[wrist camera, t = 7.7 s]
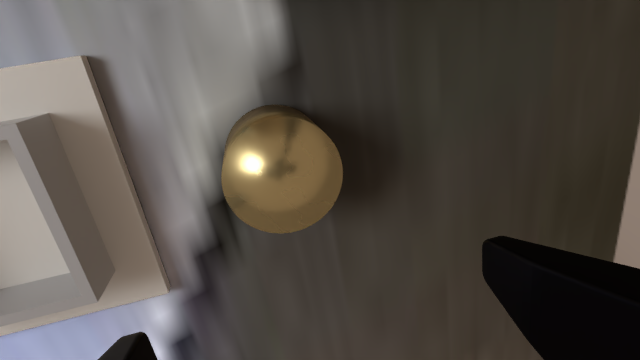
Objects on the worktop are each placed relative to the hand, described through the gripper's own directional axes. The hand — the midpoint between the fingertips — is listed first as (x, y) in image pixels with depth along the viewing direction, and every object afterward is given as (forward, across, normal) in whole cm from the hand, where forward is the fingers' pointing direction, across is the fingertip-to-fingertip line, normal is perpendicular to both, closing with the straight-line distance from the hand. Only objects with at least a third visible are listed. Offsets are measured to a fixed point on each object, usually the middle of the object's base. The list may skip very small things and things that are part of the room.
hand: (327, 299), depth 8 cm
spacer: (+12, 0, 0) cm, 12 cm away
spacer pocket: (+12, +13, 0) cm, 18 cm away
